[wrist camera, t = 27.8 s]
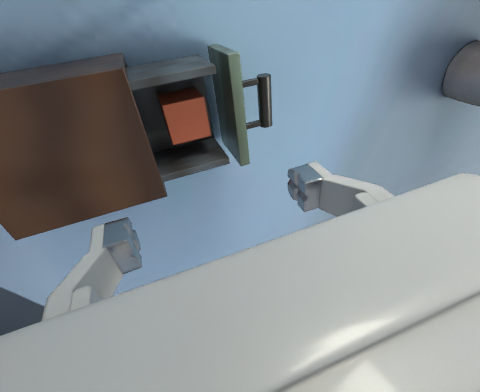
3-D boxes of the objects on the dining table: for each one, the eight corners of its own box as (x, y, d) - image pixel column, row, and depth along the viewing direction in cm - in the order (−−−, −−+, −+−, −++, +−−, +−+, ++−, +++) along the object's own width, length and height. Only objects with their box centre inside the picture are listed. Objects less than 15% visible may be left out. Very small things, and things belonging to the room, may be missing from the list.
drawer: (251, 37, 32) (280, 44, 26) (257, 132, 40) (281, 154, 34) (87, 66, 28) (78, 82, 22) (128, 165, 36) (130, 197, 30)
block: (195, 86, 32) (204, 96, 29) (202, 122, 35) (211, 135, 31) (156, 94, 31) (161, 105, 28) (167, 131, 34) (173, 145, 30)
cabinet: (122, 52, 29) (123, 68, 22) (158, 159, 38) (167, 196, 30) (-42, 79, 26) (-104, 108, 19) (37, 190, 34) (15, 240, 27)
